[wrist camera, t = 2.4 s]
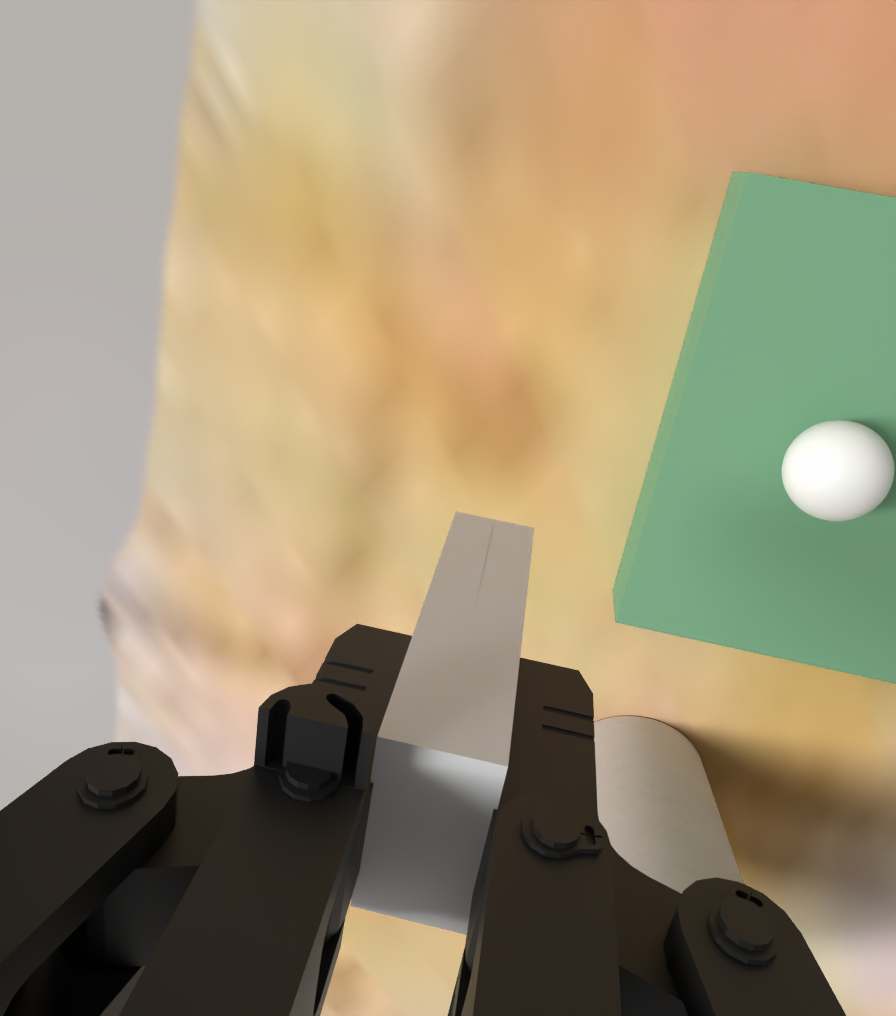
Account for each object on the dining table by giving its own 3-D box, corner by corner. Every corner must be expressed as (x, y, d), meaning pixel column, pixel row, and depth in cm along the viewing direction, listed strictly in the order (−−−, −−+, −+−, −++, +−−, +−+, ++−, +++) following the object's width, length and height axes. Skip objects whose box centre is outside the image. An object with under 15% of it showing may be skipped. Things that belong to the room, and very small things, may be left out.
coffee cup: (657, 649, 33) (713, 984, 19) (782, 799, 35) (914, 1199, 21) (482, 749, 36) (425, 1094, 23) (605, 880, 38) (621, 1271, 25)
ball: (790, 399, 26) (817, 428, 23) (889, 418, 26) (929, 450, 23) (758, 488, 27) (780, 525, 24) (852, 507, 27) (886, 547, 24)
